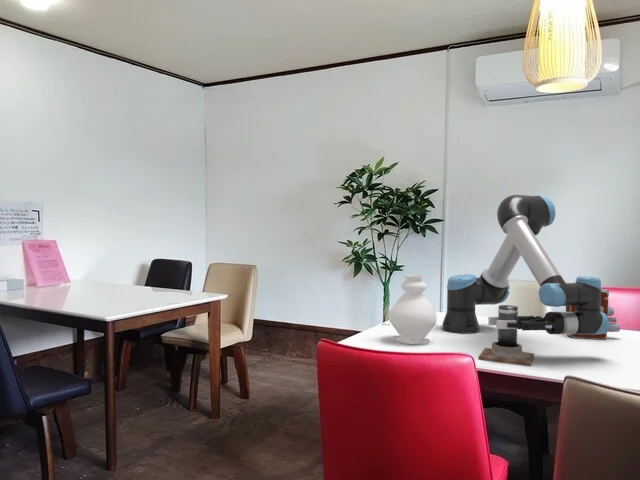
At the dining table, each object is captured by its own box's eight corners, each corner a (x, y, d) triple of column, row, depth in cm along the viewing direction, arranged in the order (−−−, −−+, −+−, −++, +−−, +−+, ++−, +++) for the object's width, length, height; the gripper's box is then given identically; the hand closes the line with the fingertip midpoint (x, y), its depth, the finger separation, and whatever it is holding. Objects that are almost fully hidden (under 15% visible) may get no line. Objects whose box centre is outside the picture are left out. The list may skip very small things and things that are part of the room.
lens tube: (496, 348, 169) (497, 306, 169) (498, 345, 175) (499, 304, 174) (516, 351, 166) (517, 308, 166) (517, 347, 172) (518, 306, 172)
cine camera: (623, 341, 200) (624, 290, 199) (569, 338, 204) (571, 288, 203) (614, 336, 209) (616, 288, 208) (563, 334, 213) (565, 286, 212)
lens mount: (478, 359, 168) (478, 345, 168) (485, 350, 181) (485, 337, 180) (530, 366, 161) (531, 351, 161) (533, 356, 173) (534, 343, 173)
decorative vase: (380, 337, 200) (382, 273, 199) (419, 334, 206) (421, 273, 205) (404, 347, 183) (405, 278, 182) (445, 344, 189) (447, 277, 189)
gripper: (575, 340, 162) (504, 340, 161) (545, 328, 181) (481, 328, 180) (575, 316, 162) (505, 316, 161) (545, 307, 181) (482, 307, 179)
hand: (492, 322), depth 170 cm, fingers closed on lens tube, 6 cm apart
